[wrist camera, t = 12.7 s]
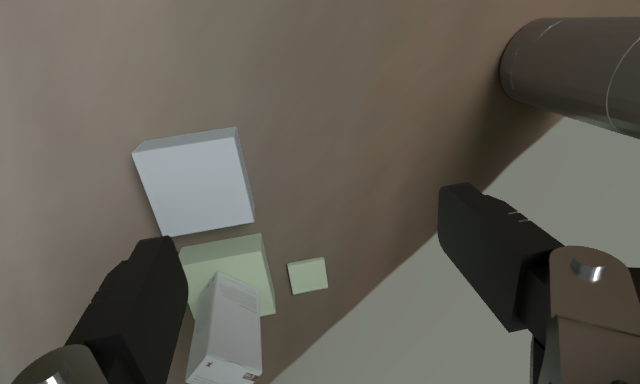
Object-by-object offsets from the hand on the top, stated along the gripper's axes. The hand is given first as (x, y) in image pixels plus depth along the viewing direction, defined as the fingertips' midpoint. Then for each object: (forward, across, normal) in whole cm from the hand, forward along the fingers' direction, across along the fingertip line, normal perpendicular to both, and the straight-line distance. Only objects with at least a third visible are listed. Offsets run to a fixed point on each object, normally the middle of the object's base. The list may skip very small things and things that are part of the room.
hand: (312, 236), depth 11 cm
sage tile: (+30, 0, +26) cm, 40 cm away
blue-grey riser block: (+30, +10, +9) cm, 33 cm away
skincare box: (+26, +10, +23) cm, 36 cm away
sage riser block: (+30, +10, +23) cm, 39 cm away
